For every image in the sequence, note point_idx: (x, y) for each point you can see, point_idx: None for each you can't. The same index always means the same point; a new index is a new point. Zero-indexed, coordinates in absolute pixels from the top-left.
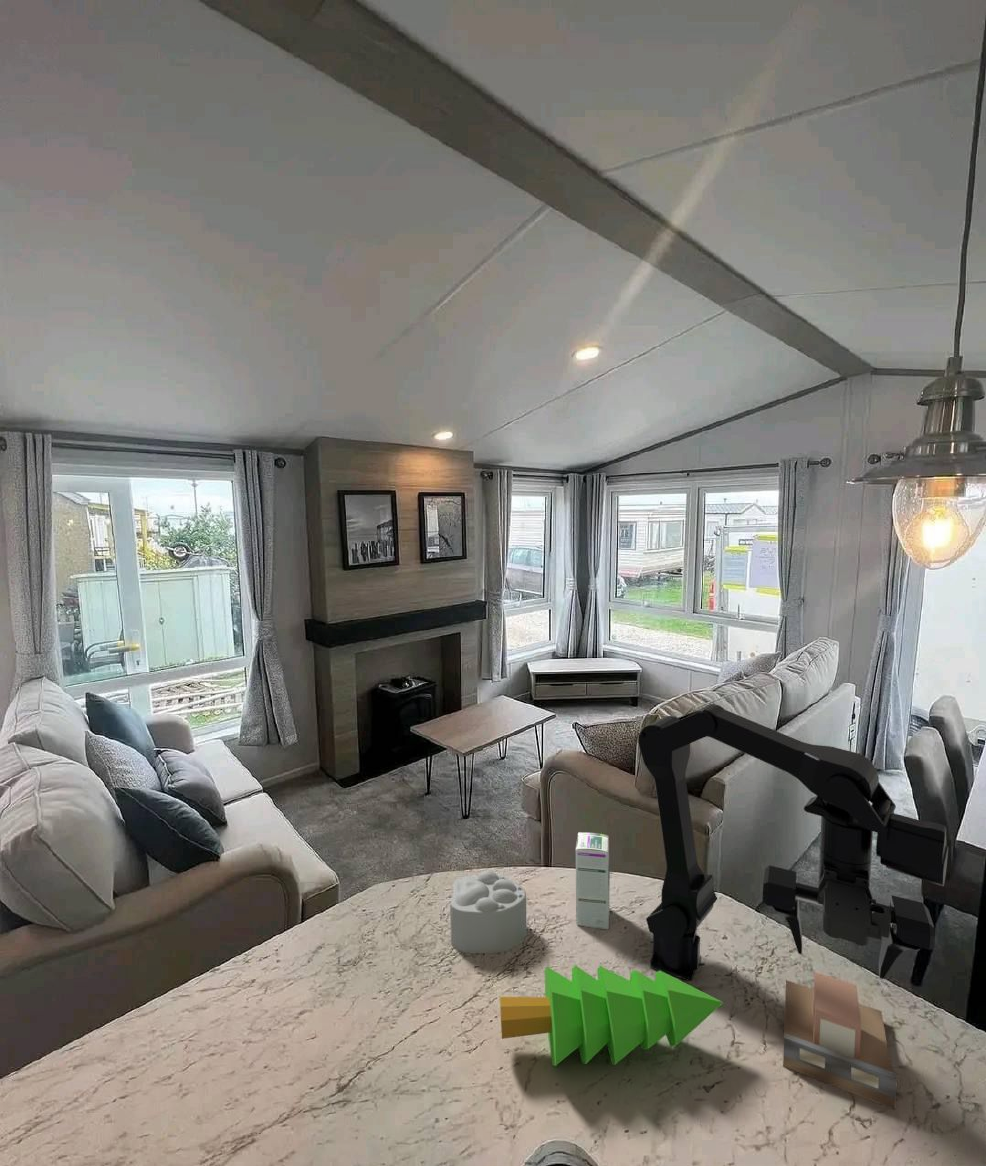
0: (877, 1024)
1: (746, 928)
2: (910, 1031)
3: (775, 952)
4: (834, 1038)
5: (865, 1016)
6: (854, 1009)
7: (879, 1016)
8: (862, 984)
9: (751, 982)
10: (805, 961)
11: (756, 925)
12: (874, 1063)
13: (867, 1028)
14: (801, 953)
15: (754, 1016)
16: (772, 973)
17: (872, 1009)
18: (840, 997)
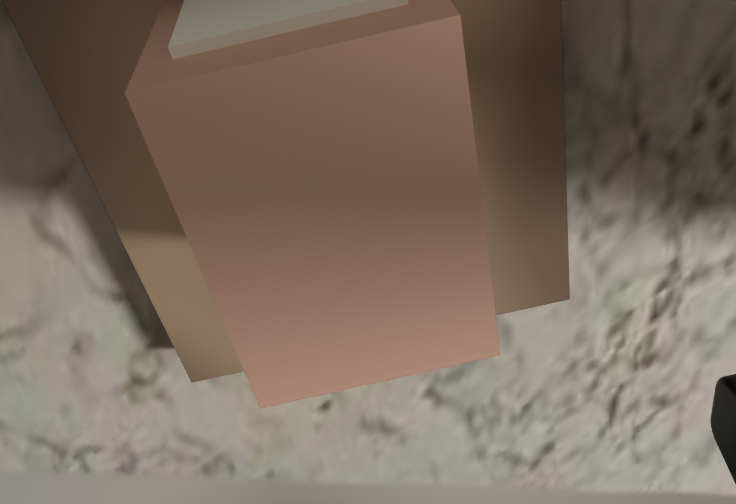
0: (182, 309)
1: (710, 449)
2: (94, 368)
3: (601, 412)
4: None
5: None
6: (211, 210)
7: (189, 353)
8: (294, 458)
9: (696, 215)
10: (492, 437)
11: (673, 480)
12: (119, 72)
13: None
14: (729, 383)
15: (685, 20)
16: (609, 314)
17: (222, 369)
18: (318, 256)
